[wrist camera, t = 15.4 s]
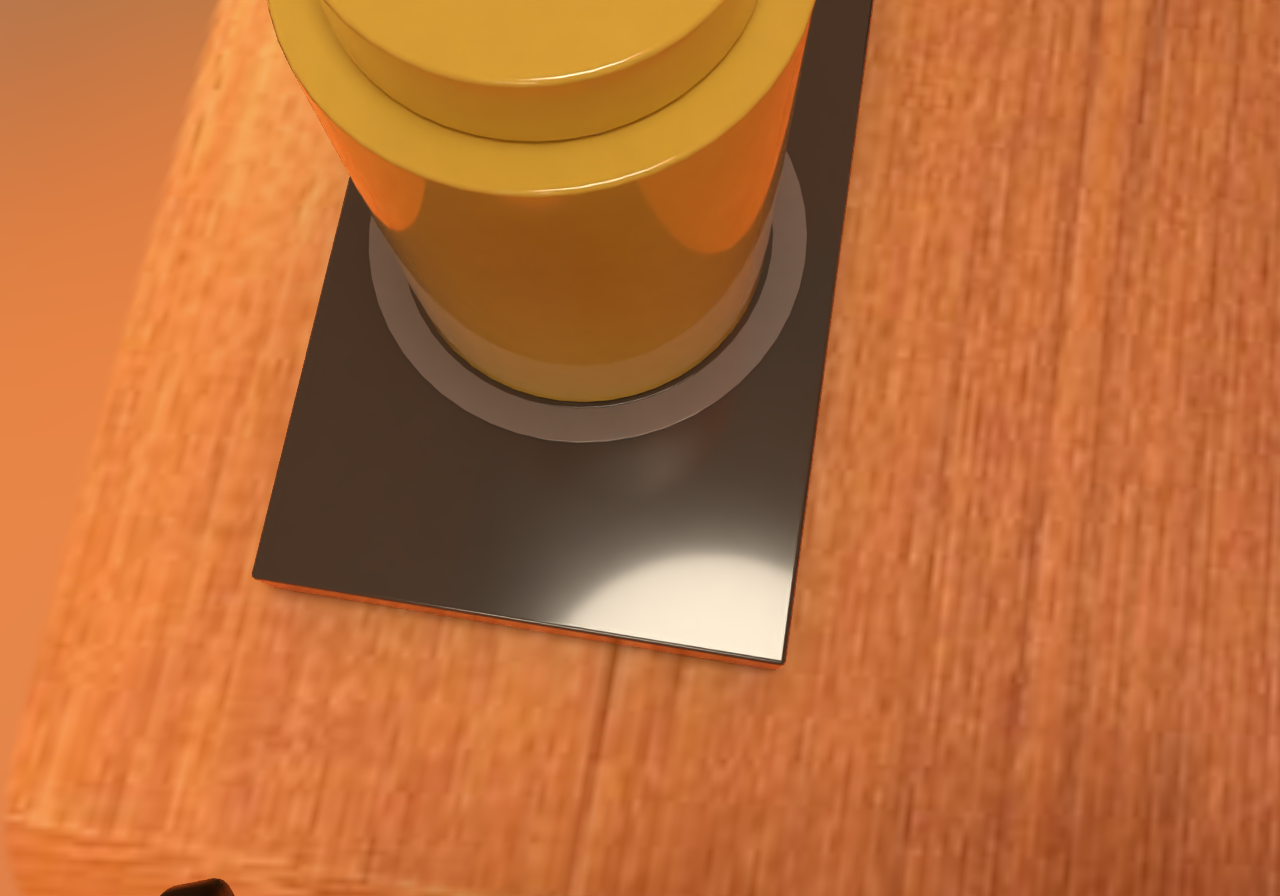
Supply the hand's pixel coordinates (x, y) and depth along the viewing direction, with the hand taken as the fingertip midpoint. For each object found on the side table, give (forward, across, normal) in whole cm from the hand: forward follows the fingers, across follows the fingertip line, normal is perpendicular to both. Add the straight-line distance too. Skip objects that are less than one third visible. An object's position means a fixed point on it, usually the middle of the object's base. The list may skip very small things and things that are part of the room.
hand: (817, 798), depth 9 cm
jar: (+14, +1, 0) cm, 14 cm away
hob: (+15, +1, +1) cm, 15 cm away
